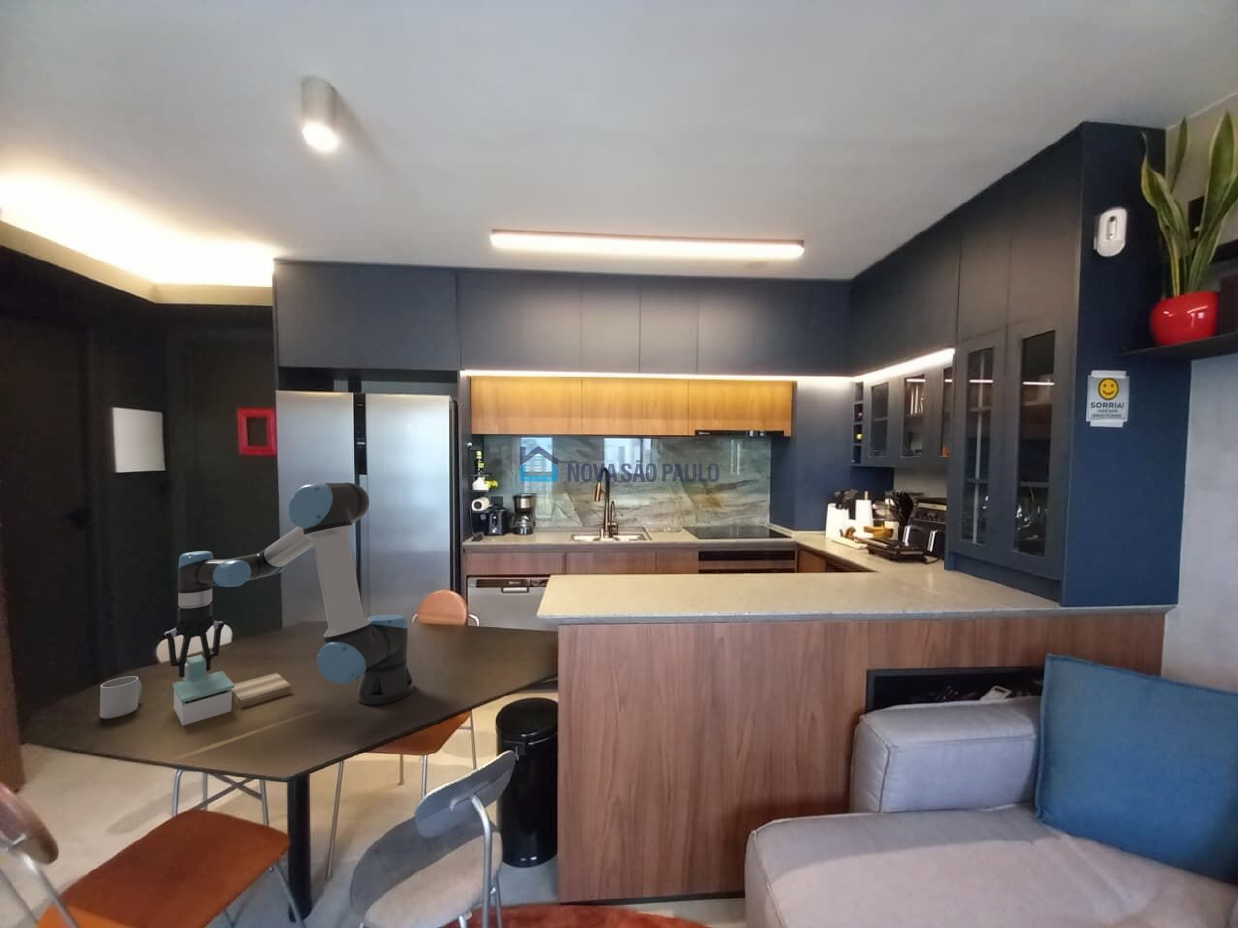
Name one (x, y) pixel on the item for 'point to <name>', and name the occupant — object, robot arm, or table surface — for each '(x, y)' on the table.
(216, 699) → the tub
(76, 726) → the table surface
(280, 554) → the robot arm
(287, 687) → the wooden block
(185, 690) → the lid
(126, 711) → the cup
